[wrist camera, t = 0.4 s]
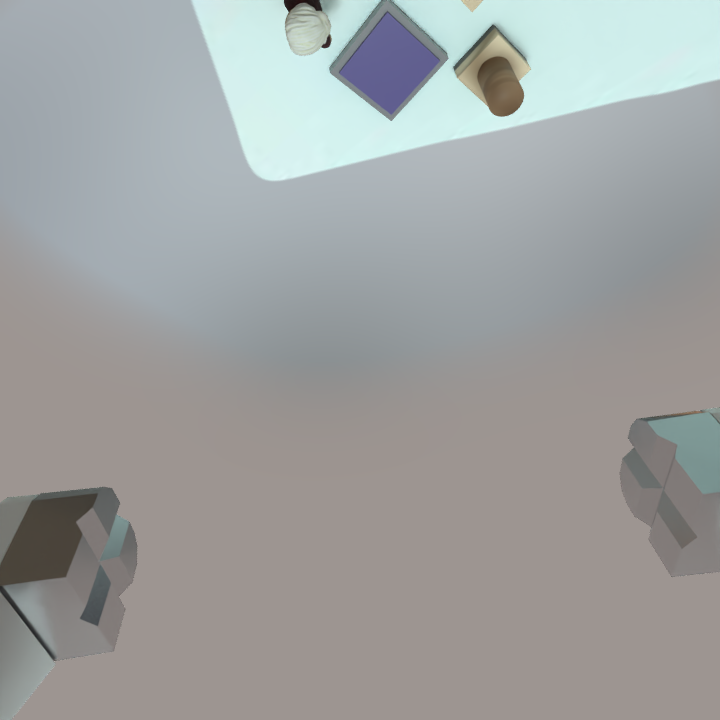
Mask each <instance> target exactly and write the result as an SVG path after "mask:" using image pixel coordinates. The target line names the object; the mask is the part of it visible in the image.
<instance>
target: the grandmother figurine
mask: <svg viewBox="0 0 720 720" xmlns="http://www.w3.org/2000/svg"><path fill="white" fill-rule="evenodd" d="M284 4H285V7H286V8H287V10H288V12H289V13H288V15H287V17H286V21H285V30H286V36H287V40H288V42H289V46H290V48H291V50H292V51H293V52H294V53H295V54H297V55H302V56H303V55H310V54H313V53H315V52H316V51H318V50H319V49H320V48H321V47H322V48H328V47H329V46H330V44H331V40H332V38H331V35H330V34H329V33H330V28H331V24H330V21H329V19H328V17H327V15H326V14H325V13H324V12H323V11H322V8H321V4H320V1H319V0H284Z"/></svg>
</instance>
